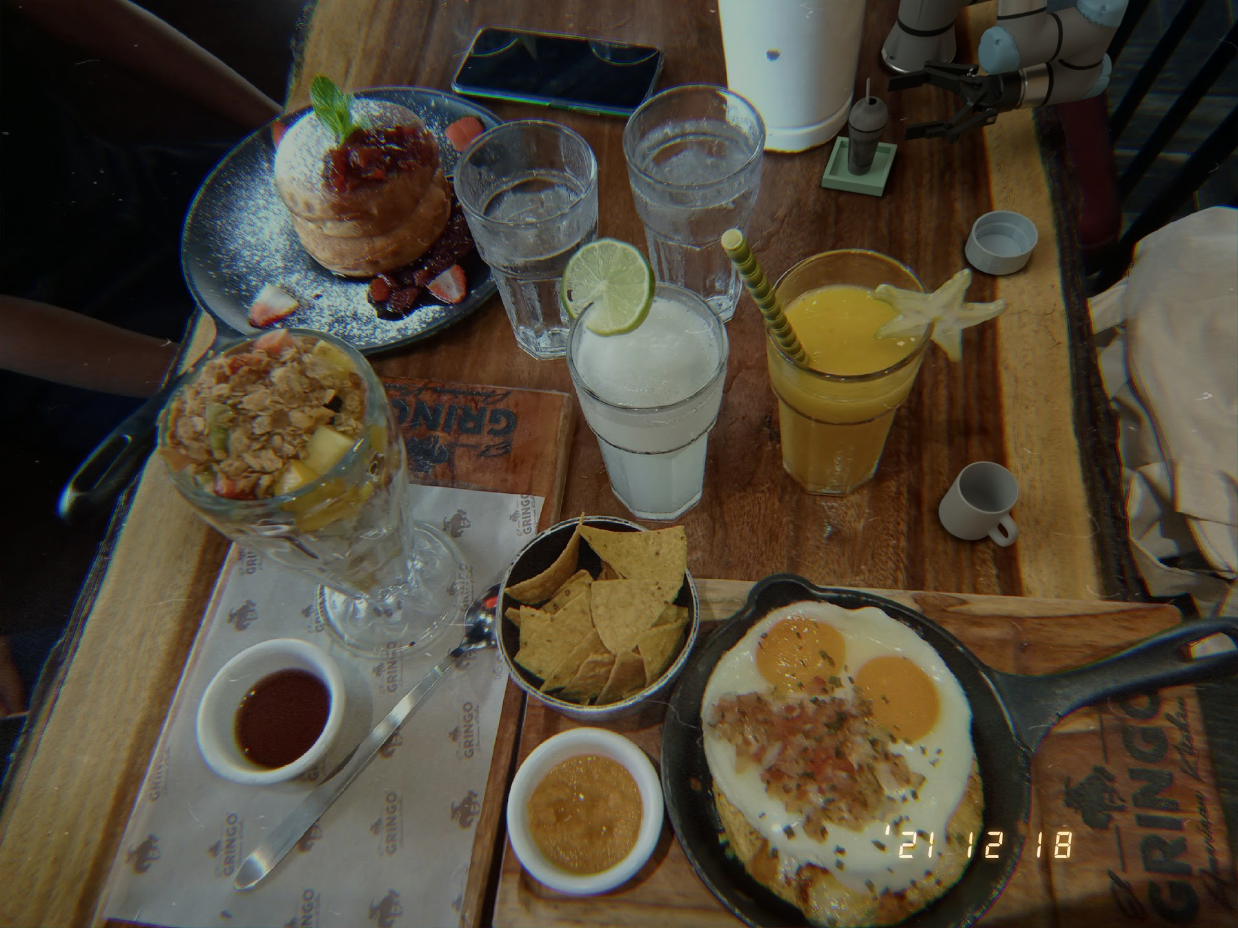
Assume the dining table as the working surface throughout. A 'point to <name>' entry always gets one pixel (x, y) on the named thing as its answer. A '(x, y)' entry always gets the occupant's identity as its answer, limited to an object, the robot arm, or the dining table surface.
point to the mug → (981, 503)
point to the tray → (865, 184)
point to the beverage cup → (865, 132)
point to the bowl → (1001, 242)
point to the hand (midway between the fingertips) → (896, 108)
